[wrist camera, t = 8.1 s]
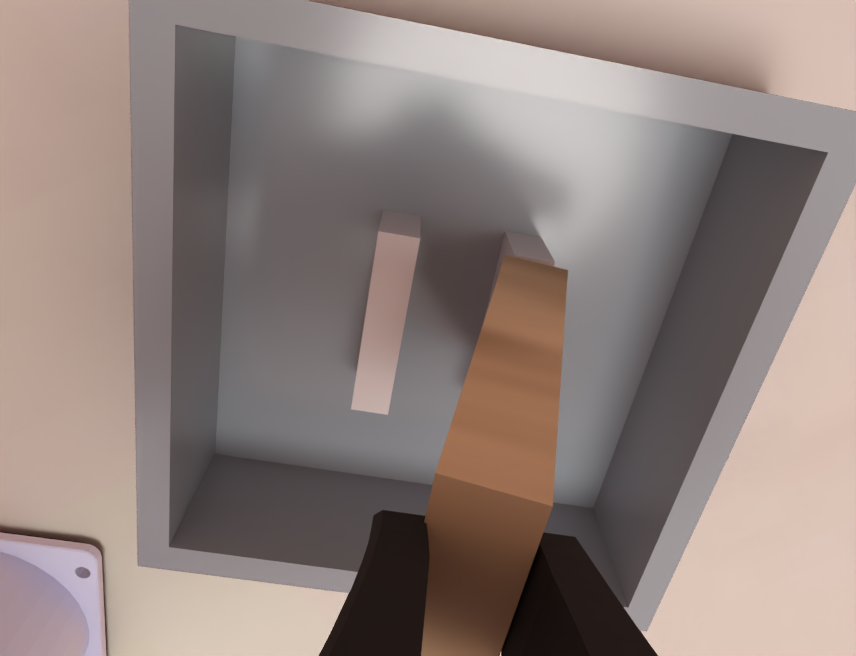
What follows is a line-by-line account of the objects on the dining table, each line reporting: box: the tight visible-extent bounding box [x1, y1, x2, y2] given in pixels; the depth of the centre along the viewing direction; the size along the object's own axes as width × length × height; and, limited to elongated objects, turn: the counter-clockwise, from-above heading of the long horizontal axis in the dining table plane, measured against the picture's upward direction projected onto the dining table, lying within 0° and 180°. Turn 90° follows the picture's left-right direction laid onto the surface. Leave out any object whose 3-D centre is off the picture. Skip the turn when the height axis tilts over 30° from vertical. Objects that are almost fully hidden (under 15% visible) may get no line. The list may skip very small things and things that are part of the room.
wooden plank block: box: [421, 255, 568, 656], centre depth 12 cm, size 4×2×8 cm, turn 170°
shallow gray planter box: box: [129, 0, 856, 631], centre depth 16 cm, size 14×14×4 cm
